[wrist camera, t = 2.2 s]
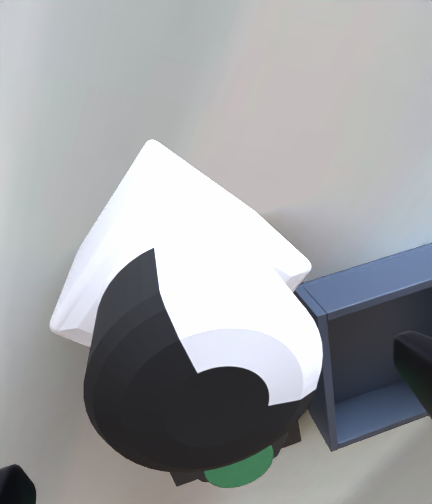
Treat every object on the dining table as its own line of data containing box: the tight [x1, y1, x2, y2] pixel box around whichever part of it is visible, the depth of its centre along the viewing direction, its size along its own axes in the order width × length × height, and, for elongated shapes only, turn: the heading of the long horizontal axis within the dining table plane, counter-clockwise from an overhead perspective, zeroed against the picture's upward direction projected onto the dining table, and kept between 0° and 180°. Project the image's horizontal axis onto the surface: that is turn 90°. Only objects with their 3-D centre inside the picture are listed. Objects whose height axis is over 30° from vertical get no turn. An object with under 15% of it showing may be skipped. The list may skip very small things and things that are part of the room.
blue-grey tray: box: [293, 243, 432, 452], centre depth 23 cm, size 11×12×3 cm
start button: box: [204, 445, 273, 488], centre depth 21 cm, size 4×4×2 cm
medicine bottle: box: [50, 140, 323, 473], centre depth 13 cm, size 7×7×12 cm
